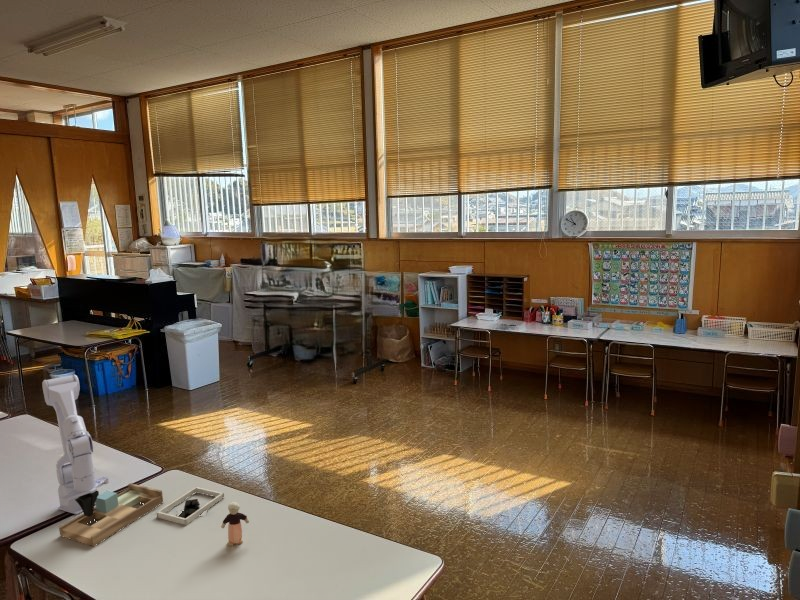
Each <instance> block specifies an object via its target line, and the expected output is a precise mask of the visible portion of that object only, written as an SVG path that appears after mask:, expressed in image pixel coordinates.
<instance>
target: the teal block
mask: <svg viewBox="0 0 800 600" xmlns="http://www.w3.org/2000/svg"><path fill="white" fill-rule="evenodd" d="M117 494H118V493H117V492H114V491H109V490H105V491H104V492H102V493H101V494H100V493H99V495H98V497H97V499H96V502H95V503H96V504H95V507H96V511H100V512H104V513H108V512H109V511H111V510H113V509H114V508H116V507H118V506H119V505H118V497H117Z"/></svg>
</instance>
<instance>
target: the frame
mask: <svg viewBox="0 0 800 600" xmlns="http://www.w3.org/2000/svg"><path fill="white" fill-rule="evenodd" d="M195 492H199V493H204V494H208V495H213V496H217V497H213V498H212V499H211V500H210V501H208V502H207V503H205V505H203V506H201V507H199V508H200V509H198V510H197V511H196V512H194V513H193V514H191V515H190V516H188V517H187V518H182V517H178V516H177V515H173V514H170V513H168V512H170V511H171V510H172V509H171V508H173V507H174V506H176V505H177V504H179V503H180V502H182V501H183V500H184V499H186V498H187V497H189V496H191V495H192V494H193V493H195ZM199 493H198V494H199ZM195 494H196V493H195ZM204 494H203V495H204ZM208 495H207V496H208ZM192 496H193V495H192ZM192 496H191V497H192ZM223 497H224V498H225V494H224V493H223V492H219V491H215V490H212V489H207V488H202V487H198V486H195V487H193V488H192V489H190V490H188V491H187V492H185V493H184V494H183V495H181V496H180V497H178V498H176V499H175V500H173V501H172V502H170V503H169V504H166V505H165V506H163V507H162V508H160V509H159V510H158V511H156V512H155V513H156V518H157V517H158V518H157V519H161V520H165V521H170V522H173V523H176V524H179V525H184V526H187V525H188V524H190V523H191V522H193V521H195V520H196V519H197V518H199V517H198V516H199V515H200V514H202V513H203V512H204V511H206V510H207V509H208V510H210V509H211V508H212V507H214V506H215V505H216V504H215V503H216V502H218V501H219V500H221V499H222V498H223ZM189 498H190V497H189ZM186 500H187V499H186ZM222 500H223V499H222ZM222 500H221V501H222ZM183 502H184V501H183ZM183 502H182V503H183ZM219 502H220V501H219ZM219 502H218V503H219ZM180 504H181V503H180ZM180 504H179V505H180ZM214 504H215V505H214ZM213 505H214V506H213ZM177 506H178V505H177ZM177 506H176V507H177ZM211 506H212V507H211ZM210 507H211V508H210ZM174 508H175V507H174ZM174 508H173V509H174ZM209 508H210V509H209ZM170 509H171V510H170ZM169 510H170V511H169ZM167 511H168V512H167ZM195 518H196V519H195Z"/></svg>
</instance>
